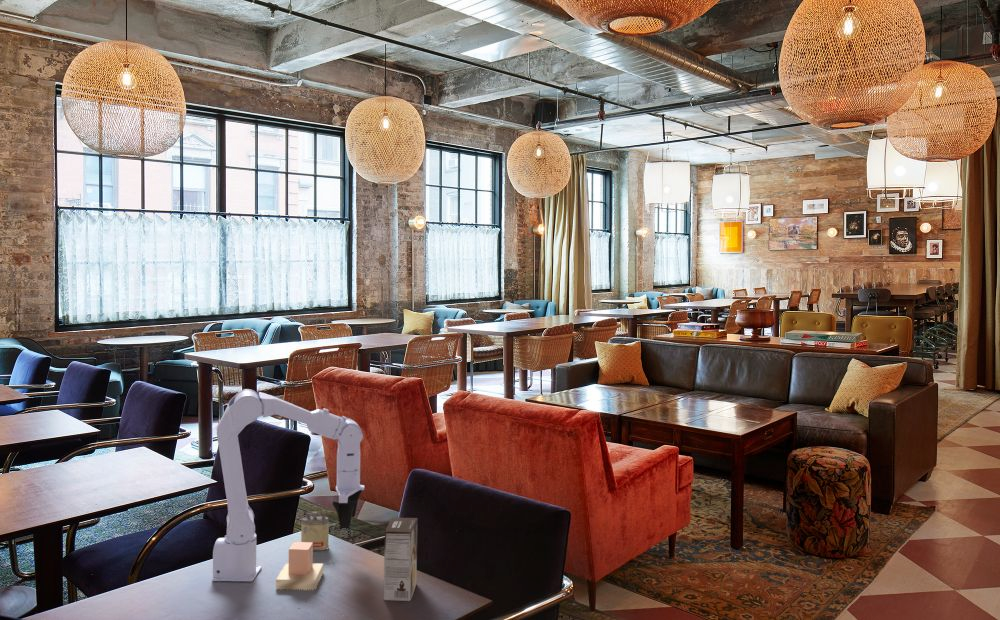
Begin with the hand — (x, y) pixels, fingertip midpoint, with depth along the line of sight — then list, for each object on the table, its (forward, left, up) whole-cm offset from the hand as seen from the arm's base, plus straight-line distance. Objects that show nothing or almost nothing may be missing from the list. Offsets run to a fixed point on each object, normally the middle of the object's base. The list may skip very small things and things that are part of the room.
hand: (347, 522), depth 184 cm
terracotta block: (-9, -11, -8) cm, 16 cm away
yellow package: (-10, +9, -11) cm, 17 cm away
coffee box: (+15, -16, -11) cm, 24 cm away
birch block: (-9, -11, -11) cm, 18 cm away
